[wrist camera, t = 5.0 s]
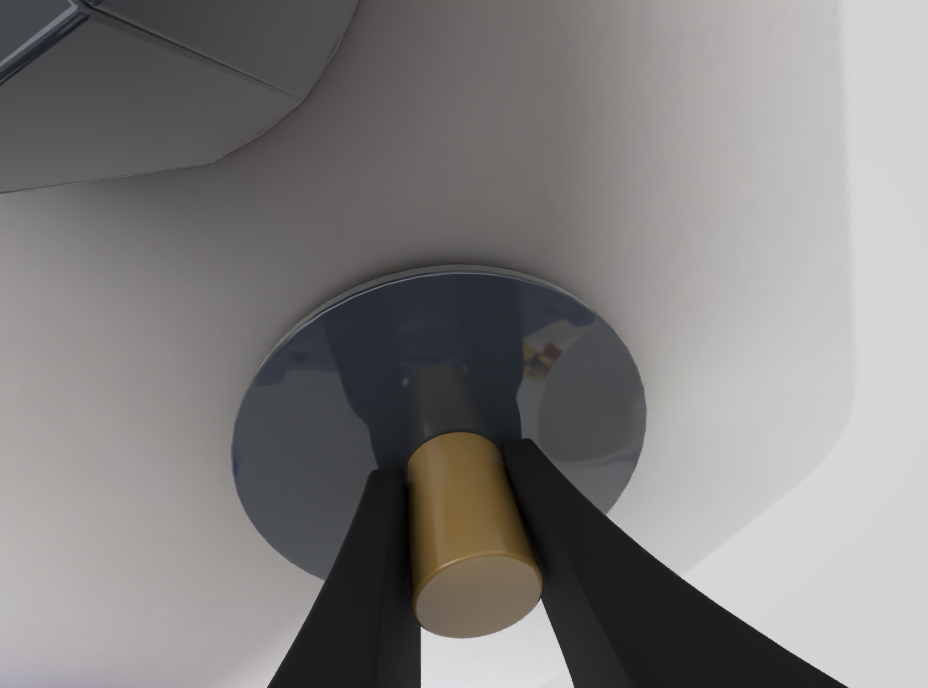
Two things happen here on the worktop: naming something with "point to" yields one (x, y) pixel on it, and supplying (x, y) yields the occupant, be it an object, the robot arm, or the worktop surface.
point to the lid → (437, 428)
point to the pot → (150, 81)
